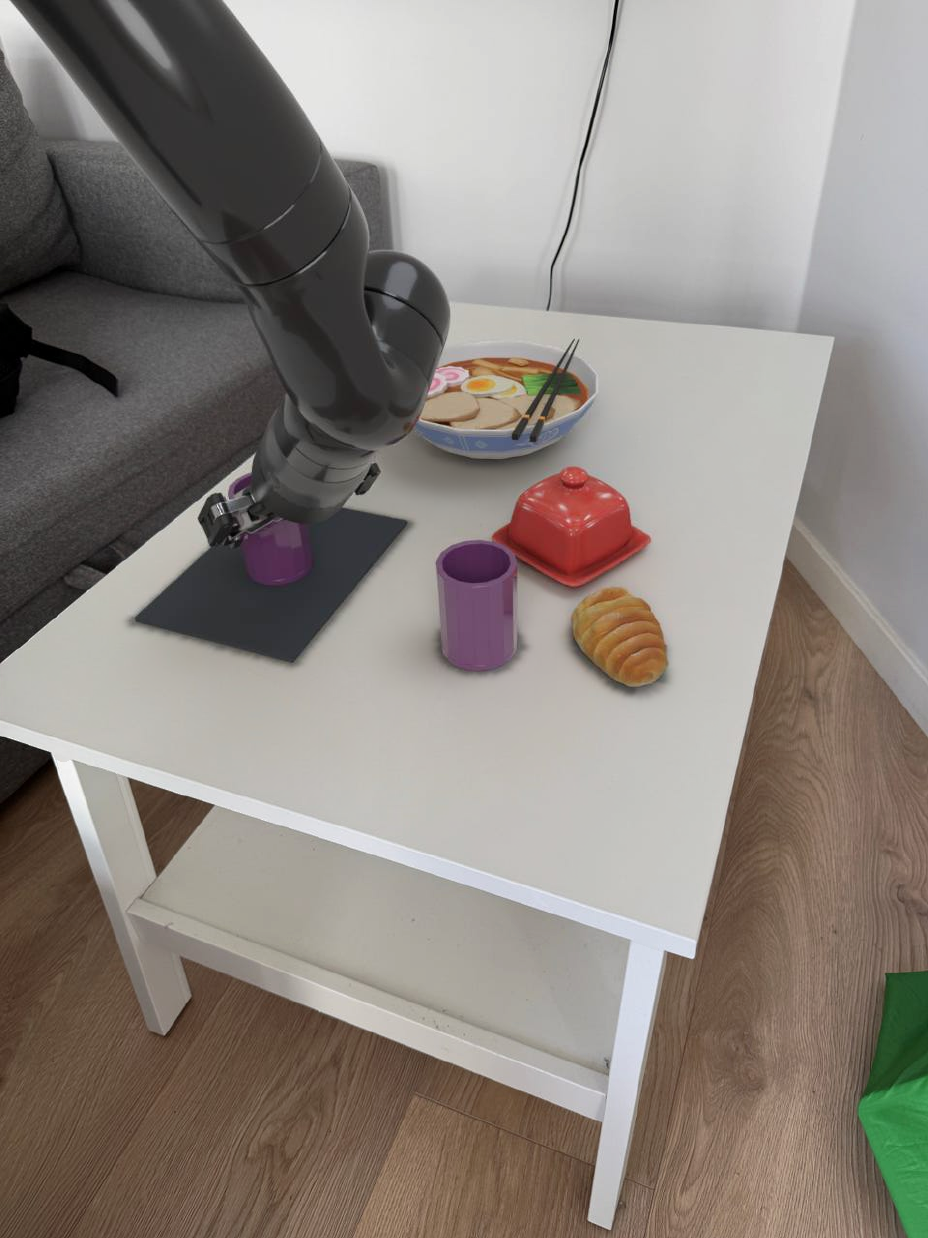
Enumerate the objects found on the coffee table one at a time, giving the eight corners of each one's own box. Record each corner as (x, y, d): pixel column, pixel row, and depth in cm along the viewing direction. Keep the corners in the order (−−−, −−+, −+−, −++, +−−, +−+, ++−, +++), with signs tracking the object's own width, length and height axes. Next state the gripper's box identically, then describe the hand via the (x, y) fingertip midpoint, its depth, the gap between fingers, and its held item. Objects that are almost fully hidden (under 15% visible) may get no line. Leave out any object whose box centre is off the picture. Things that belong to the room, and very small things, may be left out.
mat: (292, 662, 75) (291, 659, 75) (135, 621, 80) (134, 617, 80) (407, 523, 91) (407, 520, 90) (269, 496, 96) (269, 492, 95)
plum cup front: (258, 593, 82) (239, 513, 77) (238, 559, 86) (219, 480, 81) (323, 572, 84) (309, 493, 79) (300, 540, 88) (286, 462, 83)
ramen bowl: (436, 385, 115) (432, 322, 110) (617, 405, 109) (621, 338, 104) (357, 485, 97) (347, 414, 92) (568, 515, 91) (571, 440, 85)
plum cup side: (463, 680, 73) (458, 596, 67) (429, 637, 77) (422, 554, 72) (530, 655, 75) (531, 570, 69) (494, 614, 79) (492, 531, 74)
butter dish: (657, 549, 85) (666, 469, 80) (572, 602, 80) (576, 519, 74) (568, 503, 92) (571, 426, 87) (484, 548, 87) (481, 469, 81)
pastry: (688, 680, 72) (693, 643, 69) (609, 702, 70) (612, 665, 68) (634, 610, 79) (637, 574, 76) (561, 628, 77) (562, 593, 75)
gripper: (380, 382, 68) (332, 458, 83) (196, 437, 62) (180, 507, 77) (421, 473, 68) (365, 533, 83) (240, 537, 62) (215, 589, 77)
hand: (276, 521), depth 80 cm, fingers open, 8 cm apart
